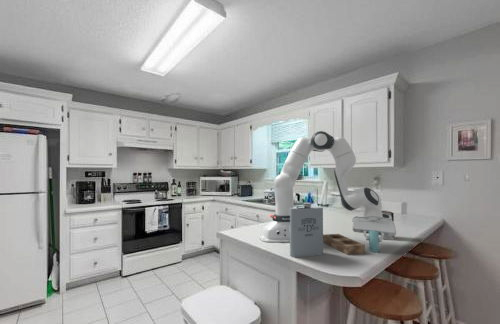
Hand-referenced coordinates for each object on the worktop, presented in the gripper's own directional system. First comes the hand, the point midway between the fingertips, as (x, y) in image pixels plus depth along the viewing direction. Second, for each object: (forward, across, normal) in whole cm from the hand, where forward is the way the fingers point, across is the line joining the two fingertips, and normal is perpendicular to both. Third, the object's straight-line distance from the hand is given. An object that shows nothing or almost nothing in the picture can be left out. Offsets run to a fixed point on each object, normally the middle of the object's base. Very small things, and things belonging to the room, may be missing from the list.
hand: (373, 240), depth 118 cm
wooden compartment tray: (+4, -15, +4) cm, 16 cm away
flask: (+19, -29, -11) cm, 36 cm away
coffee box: (-19, +7, +27) cm, 34 cm away
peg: (+3, 0, +4) cm, 5 cm away
